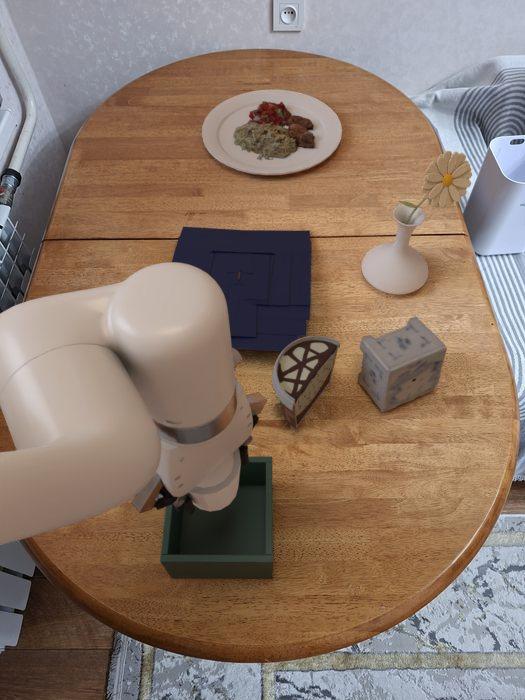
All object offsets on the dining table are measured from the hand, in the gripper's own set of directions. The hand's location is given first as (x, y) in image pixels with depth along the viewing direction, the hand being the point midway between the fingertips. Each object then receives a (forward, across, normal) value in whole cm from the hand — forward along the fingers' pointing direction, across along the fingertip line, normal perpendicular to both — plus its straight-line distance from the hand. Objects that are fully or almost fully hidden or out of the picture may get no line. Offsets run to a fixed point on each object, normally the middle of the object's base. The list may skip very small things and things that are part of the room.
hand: (210, 478), depth 58 cm
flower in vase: (+17, -51, -10) cm, 55 cm away
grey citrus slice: (+17, -21, -7) cm, 28 cm away
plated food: (+17, -64, -54) cm, 86 cm away
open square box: (+17, 0, 0) cm, 17 cm away
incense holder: (+17, -33, +2) cm, 37 cm away
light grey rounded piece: (+2, 0, 0) cm, 2 cm away
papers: (+17, -29, -28) cm, 43 cm away
